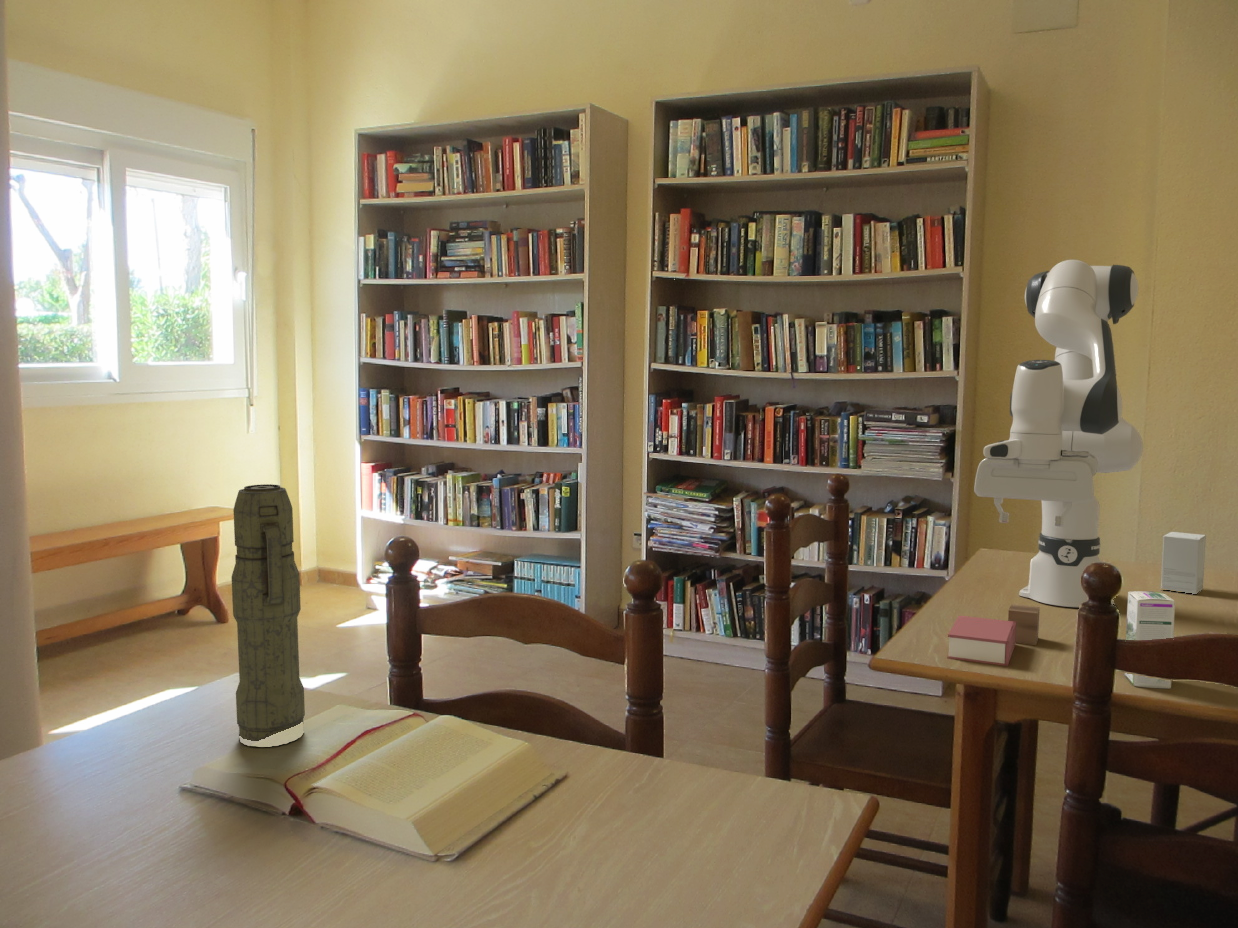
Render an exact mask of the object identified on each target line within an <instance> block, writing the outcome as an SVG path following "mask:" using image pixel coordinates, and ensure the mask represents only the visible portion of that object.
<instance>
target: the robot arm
mask: <svg viewBox="0 0 1238 928" xmlns="http://www.w3.org/2000/svg"><path fill="white" fill-rule="evenodd" d="M1139 289H1140V288H1139V282H1138V279H1137V277H1136V274H1135V272H1134V270H1133V269H1132V268H1131V267H1130V266H1128V265H1122V264H1112V265H1111V266H1110V265H1090V264H1088V263H1087V262H1085V261H1083V260H1079V259H1066V260H1062V261H1061V262H1058V263H1056V265H1054V266H1053V267H1052V268H1051V269H1050V270H1046V271H1042V272H1038V273H1035V274H1033V276H1031V277H1030V279H1028V281H1027V284H1026V288H1025V290H1024V291H1025V292H1024V301H1025V303H1024V304H1025V305H1026V309H1027V312H1028V314H1030V316H1032V317H1033V318H1034V325H1035V329H1036V331H1037V333H1038V334H1039V335H1040V337H1041V338H1042V339H1043V340H1044V341H1045V342H1047V343H1048V344H1050V345H1052V346H1053V347H1055V353H1054V360H1051V359H1032V360H1025V361H1022V362H1020V363H1019V364H1018V365H1017V367H1016V371H1015V376H1014V379H1013V380H1014V381H1013V386H1012V391H1011V393H1010V396H1009V397H1010V398H1009V399H1010V400H1009V415H1010V417H1011V418H1012V423H1011V427H1010V431H1009V439H1008V440H1004V439H1003V440H999V441H998V442H994V443H990V444H987V445H985V446H984V447H983V452H982V453H983V456H984V457H985V458H984V459H982V460H980V462H979V464H978V466H977V470H976V473H975V480H974V486H973V487H974V488H973V489H974V490H973V491H974V494H976V496H977V497H980V498H981V497H982V498H993V505H994V506H995V508H996V510H997V512H998V513H999V519H998V521H999V523H1002V524H1003V523H1004V524H1005V523H1006V524H1007V523H1009V517H1010V513H1009V512H1005V511H1004V508H1003V507H1002V504H1003V502H1004V499H1014V500H1028V501H1029V500H1030V501H1041V532H1040V533H1039V536H1038V541H1037V543H1038V550H1039V551H1038V553H1037V554H1036V555H1034V556H1032V557H1033V558H1031V559H1030V563H1029V577H1028V584H1027V586H1025V587H1023V588H1021V589H1020V590H1019V592H1018V595H1019V596H1021V597H1024V598H1029V599H1031V600H1034V601H1036V602H1040V603H1043V604H1047V605H1052V606H1058V607H1065V608H1066V607H1067V608H1080V607H1079V605H1081V603H1083V602H1084V601H1087V596H1086V594H1085V593H1084V591H1083V590H1082V588H1081V584H1080V579H1081V574H1082V573H1083V571H1084V569H1085V568H1086V566H1088V565H1090V564H1091V563H1093V562H1102V563H1104V562H1103V561H1102V560H1101V559H1100V557H1099V555H1100V552H1101V551H1100V550H1101V538H1100V536H1099V526H1100V525H1099V523H1100V522H1099V521H1100V509H1101V508H1100V502H1099V501H1098V499H1097V497H1096V496H1095V494H1094V492H1095V489H1094V488H1095V486H1094V476H1095V475H1096V474H1097V473H1100V474H1110V473H1111V474H1112V473H1119V472H1126V471H1131V470H1132V469H1133V468H1134V467H1135V466H1136V465H1138V463H1139V461H1140V459H1141V458H1142V455H1143V452H1144V443H1143V438H1142V435H1141V433H1140V431H1139V430H1138V429H1137V428H1136V427H1135V426H1134V425H1133V424H1132V423H1129V422H1128V421H1127V420H1126V419H1124V418H1123V417H1122V413H1123V399H1122V395H1121V392H1120V389H1119V386H1118V382H1117V368H1116V367H1117V366H1116V355H1115V347H1114V343H1113V334H1112V333H1113V332H1112V329H1111V325H1110V324H1109V320H1111V319H1112V324H1113V325H1116V324H1118V323H1119V322H1120V319H1121V318H1123V317H1126V315H1128V313H1130V311H1131V310H1132V309H1133V308H1134V306H1135V303H1136V301H1137V299H1138V295H1139ZM1114 600H1115V599H1114ZM1114 600H1113V601H1112V603H1113V604H1114V605H1113V606H1115V605H1116V603H1114Z"/></svg>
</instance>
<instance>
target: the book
mask: <svg viewBox="0 0 1238 928" xmlns="http://www.w3.org/2000/svg"><path fill="white" fill-rule="evenodd" d="M947 638H948V654H947V656H946V658H947V659H950V660H958V661H967V662H971V663H979V664H981V663H982V664H986V665H987V664H989V665H997V666H1003V667H1009V665H1010V662H1011V659H1012V655H1013V652H1014V649H1015V646H1016V643H1015V640H1016V622H1014V621H1008V620H1004V619H995V618H994V619H993V618H986V617H985V618H984V617H976V616H966V615H961V614H960V615H958V616H957V618H956V620H955V622H954V623H953V625H952V627H950V630H949V631H948V634H947Z"/></svg>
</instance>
